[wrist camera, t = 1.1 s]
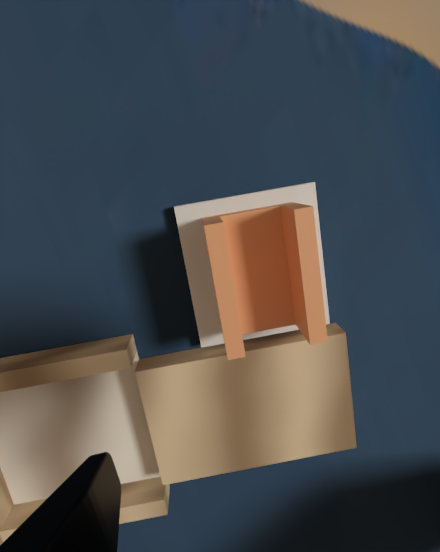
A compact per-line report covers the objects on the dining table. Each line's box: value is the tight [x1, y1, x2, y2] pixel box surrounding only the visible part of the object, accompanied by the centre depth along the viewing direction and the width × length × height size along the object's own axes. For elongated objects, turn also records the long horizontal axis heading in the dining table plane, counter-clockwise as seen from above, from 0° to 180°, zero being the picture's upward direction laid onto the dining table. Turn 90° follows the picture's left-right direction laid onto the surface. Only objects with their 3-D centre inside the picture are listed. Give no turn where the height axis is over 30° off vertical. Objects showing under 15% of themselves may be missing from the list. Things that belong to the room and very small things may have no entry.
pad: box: [174, 182, 330, 348], centre depth 20 cm, size 7×8×1 cm
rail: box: [0, 323, 357, 545], centre depth 21 cm, size 21×10×2 cm, turn 100°
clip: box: [202, 202, 328, 360], centre depth 18 cm, size 4×6×4 cm
